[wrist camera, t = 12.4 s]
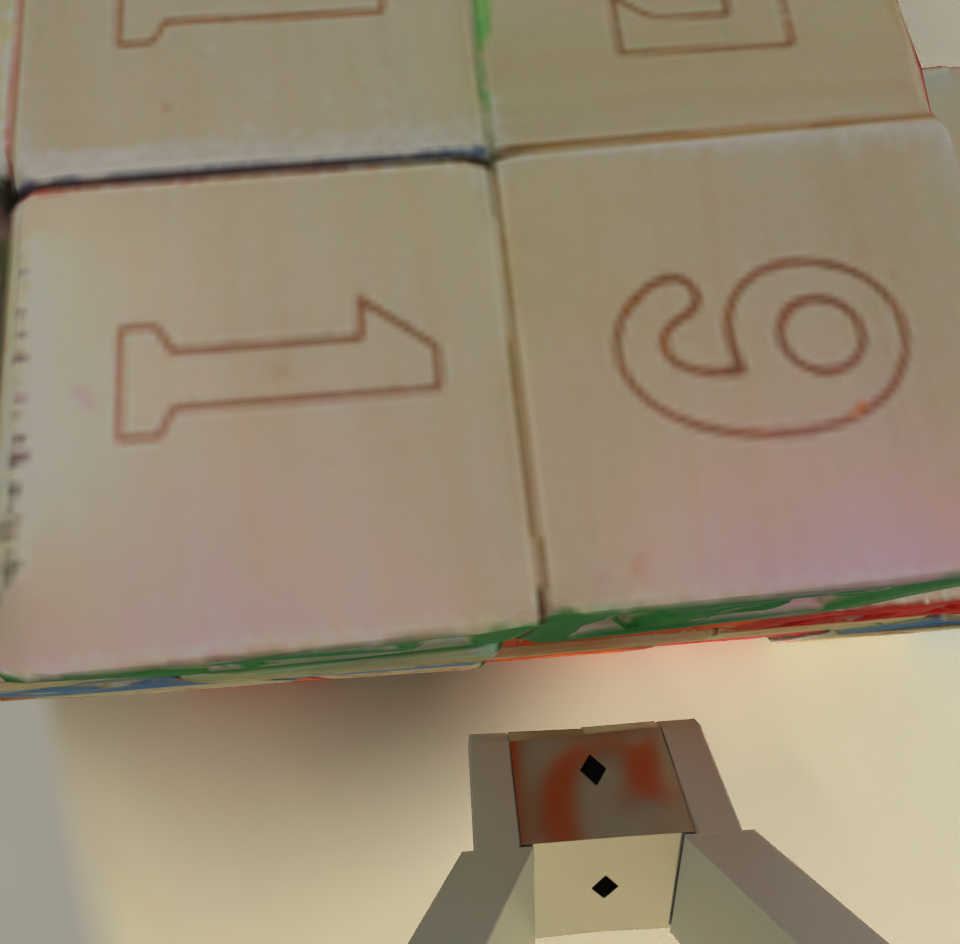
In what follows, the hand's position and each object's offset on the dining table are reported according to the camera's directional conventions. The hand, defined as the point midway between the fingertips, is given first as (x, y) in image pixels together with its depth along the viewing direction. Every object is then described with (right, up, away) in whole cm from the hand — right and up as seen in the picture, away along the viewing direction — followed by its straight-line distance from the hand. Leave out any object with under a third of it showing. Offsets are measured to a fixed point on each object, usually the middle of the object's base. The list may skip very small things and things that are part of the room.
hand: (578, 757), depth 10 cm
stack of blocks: (0, +3, +7) cm, 7 cm away
